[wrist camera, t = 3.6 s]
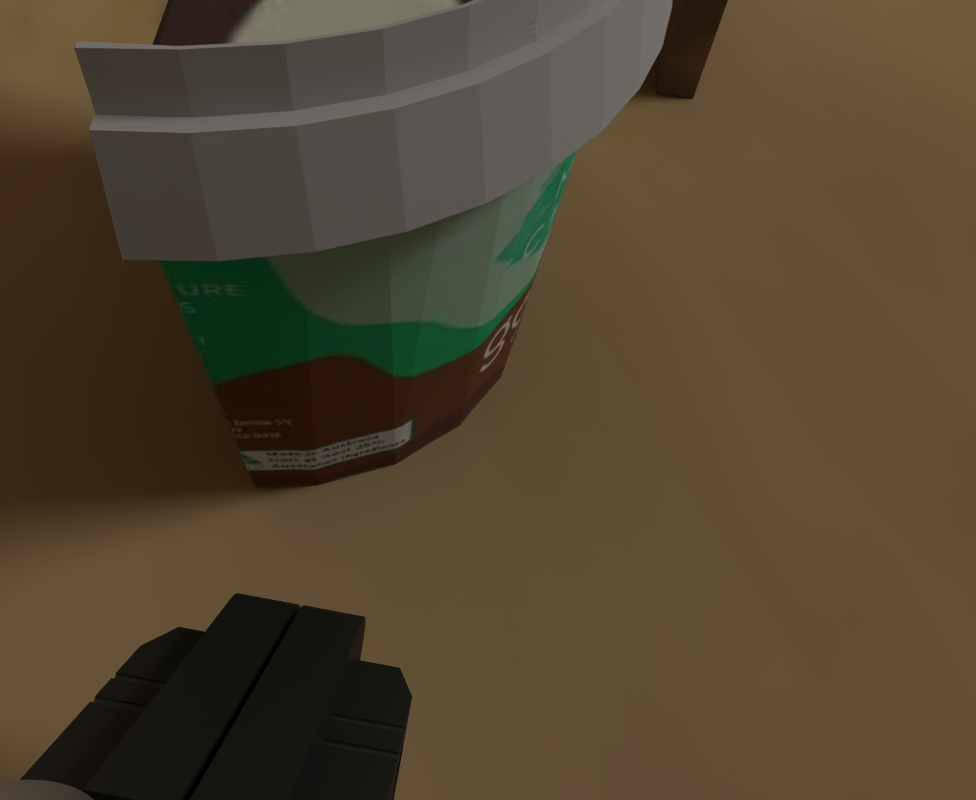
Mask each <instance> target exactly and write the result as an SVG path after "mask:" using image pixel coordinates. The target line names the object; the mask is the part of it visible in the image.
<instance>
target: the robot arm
mask: <svg viewBox="0 0 976 800" xmlns="http://www.w3.org/2000/svg"><path fill="white" fill-rule="evenodd" d="M364 631H365V617H364V616H358V615H353V614H348V613H342V612H337V611H331V610H326V609H321V608H315V607H310V606H305V605H304V606H302V607H301V608H300V606H299V605H298V604H293V603H287V602H282V601H277V600H271V599H266V598H261V597H255V596H250V595H245V594H239V593H236V594H235V595H234V596H233V597H232V598H231V599H230V600H229V602H228V603H227V604H226V605H225V607H224V608H223V609H222V611H221V612H220V613H219V615H218V616H217V617H216V618H215V620H214V621H213V622H212V624H211V625H210V626H209V627H208V629H207V630H206V631H205V632H203V631H198V630H192V629H187V628H182V627H178V628H176V629H174V630H172V631H170V632H168V633H166V634H164V635H162V636H160V637H158V638H155V639H153V640H151V641H149V642H147V643H145V644H143V645H141V646H140V647H139V648H138V649H137V650H136V651H135V652H134V654H133V655H132V656H131V657H130V658H129V659H128V660H127V661H126V662H125V664H124V665H123V666H122V667H121V668H120V669H119V670H118V671H117V672H116V676H115V678H114V679H112V678H111V679H110V680H109V681H108V682H107V684H106V685H105V686H104V687H103V688H102V689H101V690H100V691H99V692H98V694H97V695H96V696H95V700H94V702H89V704H88V705H87V706H86V707H85V708H84V709H83V710H82V711H81V712H80V714H79V715H78V716H77V717H76V718H75V719H74V720H73V721H72V722H71V724H70V725H69V726H68V727H67V728H66V729H65V730H64V731H63V732H62V734H61V735H60V736H59V737H58V738H57V739H56V740H55V741H54V742H53V744H52V745H51V746H50V747H49V748H48V749H47V750H46V751H45V752H44V754H43V755H42V756H41V757H40V758H39V759H38V760H37V761H36V762H35V764H34V765H33V766H32V767H31V768H30V769H29V770H28V771H27V772H26V774H25V775H24V776H23V777H22V778H21V779H20V780H13V781H6V782H0V800H394V795H395V790H396V784H397V778H398V773H399V767H400V761H401V756H402V750H403V745H404V739H405V733H406V728H407V722H408V716H409V711H410V705H411V700H412V695H411V693H410V691H409V688H408V686H407V684H406V681H405V679H404V677H403V674H402V672H401V670H400V668H397V667H392V666H387V665H381V664H376V663H371V662H365V661H360V657H361V651H362V645H363V638H364Z"/></svg>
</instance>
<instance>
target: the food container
mask: <svg viewBox="0 0 976 800" xmlns="http://www.w3.org/2000/svg"><path fill="white" fill-rule="evenodd" d="M672 2H673V0H168V3H167V6H166V9H165V12H164V14H163V17H162V20H161V23H160V25H159V28H158V31H157V34H156V36H155V39H154V42H153V45H147V44H126V43H106V42H86V41H77V42H76V45H75V47H74V48H75V51H76V54H77V57H78V60H79V63H80V66H81V70H82V73H83V76H84V79H85V82H86V85H87V88H88V91H89V94H90V97H91V100H92V103H93V106H94V109H95V113H96V115H95V117H94V119H93V120H92V123H91V126H90V128H89V132H90V136H91V140H92V144H93V148H94V152H95V156H96V160H97V164H98V168H99V171H100V175H101V179H102V183H103V187H104V191H105V195H106V199H107V203H108V207H109V210H110V214H111V218H112V222H113V226H114V230H115V234H116V238H117V242H118V246H119V250H120V253H121V257H122V260H159V262H160V264H161V266H162V269H163V271H164V274H165V276H166V278H167V281H168V283H169V285H170V288H171V290H172V293H173V295H174V297H175V300H176V302H177V304H178V307H179V309H180V312H181V314H182V316H183V319H184V321H185V323H186V326H187V328H188V331H189V333H190V335H191V338H192V340H193V342H194V345H195V347H196V349H197V352H198V354H199V357H200V359H201V361H202V364H203V366H204V368H205V371H206V373H207V376H208V378H209V380H210V383H211V385H212V387H213V390H214V392H215V395H216V397H217V399H218V402H219V404H220V406H221V409H222V411H223V414H224V416H225V418H226V421H227V423H228V425H229V428H230V430H231V433H232V435H233V437H234V440H235V442H236V444H237V447H238V449H239V452H240V454H241V456H242V459H243V461H244V463H245V466H246V468H247V471H248V473H249V475H250V478H251V480H252V482H253V485H254V486H286V485H319V484H323V483H326V482H330V481H334V480H338V479H341V478H345V477H349V476H353V475H356V474H360V473H364V472H368V471H371V470H375V469H379V468H383V467H386V466H390V465H394V464H397V463H398V462H400V461H402V460H403V459H405V458H407V457H408V456H410V455H412V454H413V453H415V452H417V451H418V450H420V449H422V448H423V447H425V446H427V445H428V444H430V443H431V442H433V441H435V440H436V439H438V438H440V437H441V436H443V435H445V434H446V433H448V432H450V431H451V430H453V429H455V428H456V427H458V426H459V425H460V424H461V423H462V422H463V421H464V420H465V418H466V417H467V416H468V415H469V414H470V412H471V411H472V410H473V409H474V408H475V407H476V405H477V404H478V403H479V402H480V401H481V399H482V398H483V397H484V396H485V395H486V394H487V392H488V391H489V390H490V389H491V388H492V386H493V385H494V384H495V383H496V382H497V381H498V379H499V378H500V377H501V375H502V372H503V369H504V366H505V364H506V361H507V358H508V356H509V353H510V350H511V347H512V345H513V342H514V339H515V337H516V334H517V331H518V328H519V325H520V322H521V319H522V316H523V313H524V310H525V306H526V303H527V300H528V297H529V294H530V291H531V288H532V285H533V282H534V279H535V276H536V273H537V270H538V267H539V264H540V261H541V258H542V255H543V252H544V249H545V246H546V243H547V240H548V237H549V234H550V231H551V228H552V225H553V222H554V218H555V215H556V212H557V209H558V206H559V203H560V200H561V197H562V194H563V191H564V188H565V185H566V182H567V179H568V176H569V173H570V170H571V167H572V164H573V161H574V158H575V155H576V152H577V149H579V148H580V147H581V146H583V145H584V144H585V143H587V142H588V141H589V140H591V139H592V138H593V137H595V136H596V135H597V134H599V133H600V132H601V131H602V130H603V129H604V128H605V127H606V126H607V125H608V124H609V123H610V122H611V120H612V119H613V118H614V117H615V116H616V115H617V114H618V113H619V111H620V110H621V109H622V108H623V107H624V106H625V105H626V104H627V103H628V101H629V100H630V99H631V98H632V97H633V96H634V95H635V94H636V92H637V91H638V90H639V89H640V87H641V85H642V84H643V82H644V80H645V78H646V76H647V74H648V72H649V71H650V69H651V67H652V65H653V63H654V61H655V60H656V58H657V56H658V54H659V52H660V50H661V49H662V46H663V42H664V38H665V34H666V30H667V25H668V21H669V17H670V13H671V9H672Z"/></svg>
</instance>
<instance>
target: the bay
mask: <svg viewBox="0 0 976 800" xmlns="http://www.w3.org/2000/svg"><path fill="white" fill-rule="evenodd" d="M727 1H728V0H673V2H672V9H671V13H670V17H669V21H668V25H667V30H666V34H665V38H664V42H663V46H662V49H661V50H660V54H659V67H658V79H657V91H656V92H659V93H665V94H670V95H676V96H681V97H687V98H692V99H693V97H694V94H695V91H696V88H697V86H698V83H699V80H700V77H701V74H702V71H703V69H704V66H705V63H706V60H707V57H708V54H709V52H710V49H711V46H712V43H713V40H714V38H715V35H716V32H717V29H718V26H719V23H720V21H721V18H722V15H723V12H724V9H725V7H726V4H727Z"/></svg>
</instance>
